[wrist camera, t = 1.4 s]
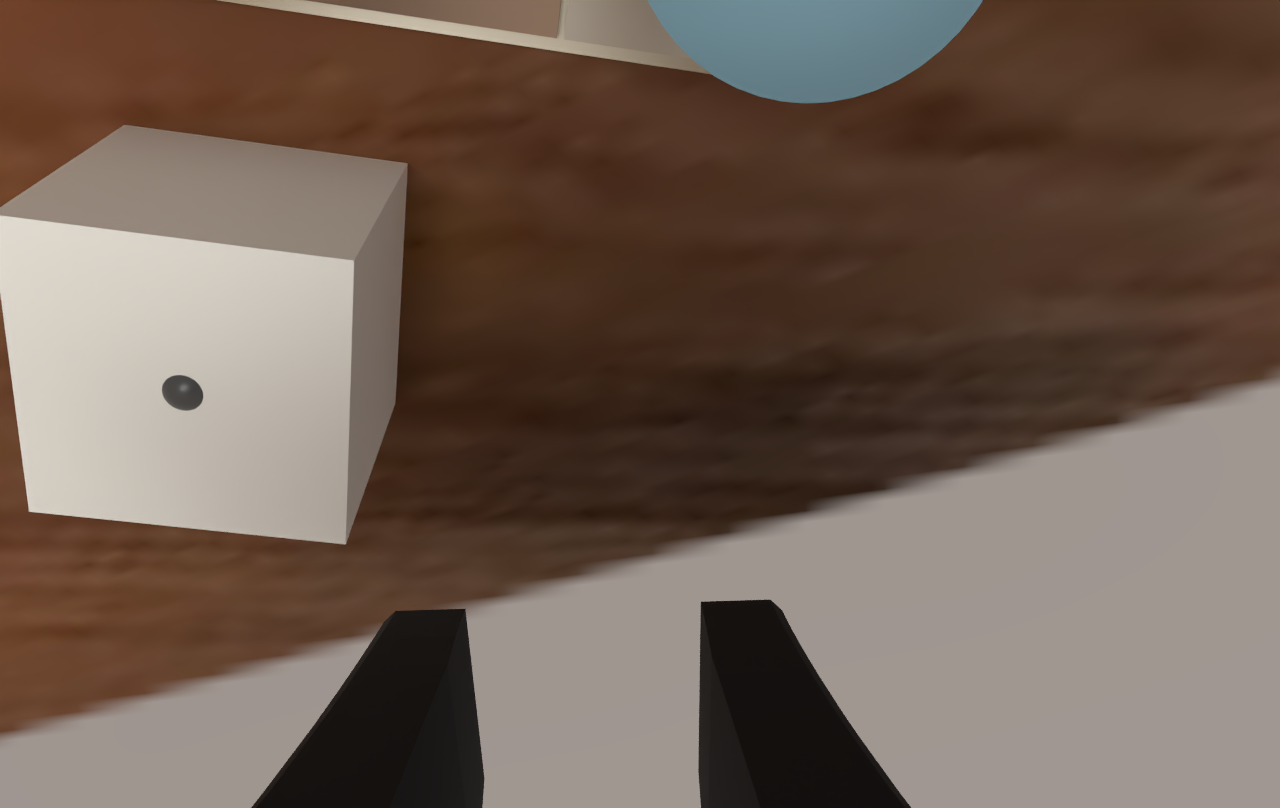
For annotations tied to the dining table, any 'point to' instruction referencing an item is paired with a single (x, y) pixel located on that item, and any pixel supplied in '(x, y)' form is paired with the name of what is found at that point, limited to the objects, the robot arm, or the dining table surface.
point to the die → (204, 332)
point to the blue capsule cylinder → (812, 42)
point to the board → (520, 24)
